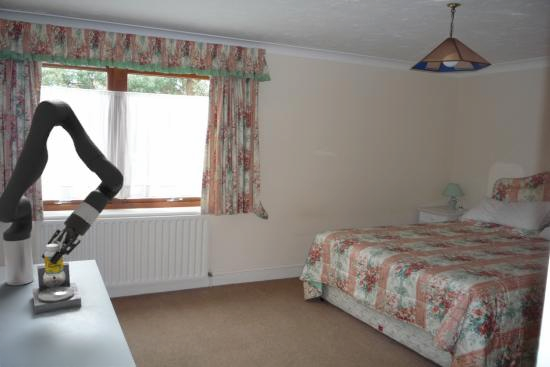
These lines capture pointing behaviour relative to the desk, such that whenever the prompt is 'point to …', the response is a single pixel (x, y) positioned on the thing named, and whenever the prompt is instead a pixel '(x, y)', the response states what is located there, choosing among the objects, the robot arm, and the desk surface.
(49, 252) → the supplement bottle
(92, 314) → the desk surface
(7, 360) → the desk surface
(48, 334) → the desk surface
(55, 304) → the scale
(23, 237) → the robot arm
